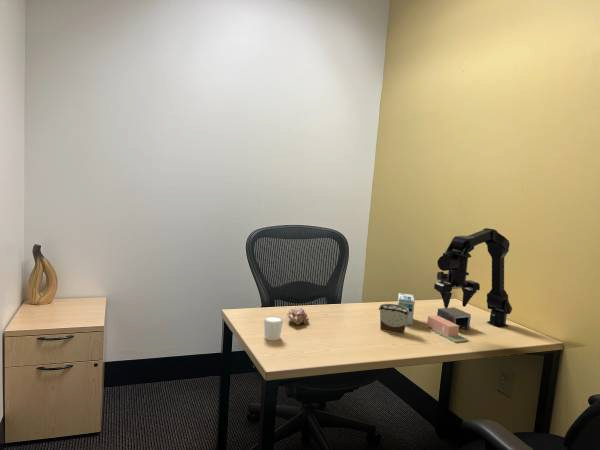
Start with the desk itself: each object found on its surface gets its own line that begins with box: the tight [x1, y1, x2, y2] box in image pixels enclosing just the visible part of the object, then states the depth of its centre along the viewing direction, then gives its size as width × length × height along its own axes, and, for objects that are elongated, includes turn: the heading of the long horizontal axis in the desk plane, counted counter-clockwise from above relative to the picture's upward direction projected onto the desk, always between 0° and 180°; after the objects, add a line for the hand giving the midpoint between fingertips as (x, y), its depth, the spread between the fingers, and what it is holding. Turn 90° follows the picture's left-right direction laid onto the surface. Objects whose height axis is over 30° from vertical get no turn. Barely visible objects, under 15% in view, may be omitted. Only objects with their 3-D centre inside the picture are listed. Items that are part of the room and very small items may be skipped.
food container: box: [378, 303, 410, 336], centre depth 187 cm, size 12×6×10 cm, turn 65°
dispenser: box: [436, 307, 472, 331], centre depth 198 cm, size 9×10×6 cm
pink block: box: [426, 315, 460, 336], centre depth 189 cm, size 5×13×4 cm, turn 22°
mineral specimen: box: [286, 307, 310, 325], centre depth 188 cm, size 12×8×7 cm
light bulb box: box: [397, 292, 416, 326], centre depth 200 cm, size 11×7×11 cm, turn 168°
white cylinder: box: [263, 315, 284, 341], centre depth 169 cm, size 7×7×7 cm
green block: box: [431, 328, 469, 344], centre depth 186 cm, size 6×14×1 cm, turn 24°
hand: (454, 307), depth 185 cm, fingers open, 9 cm apart
